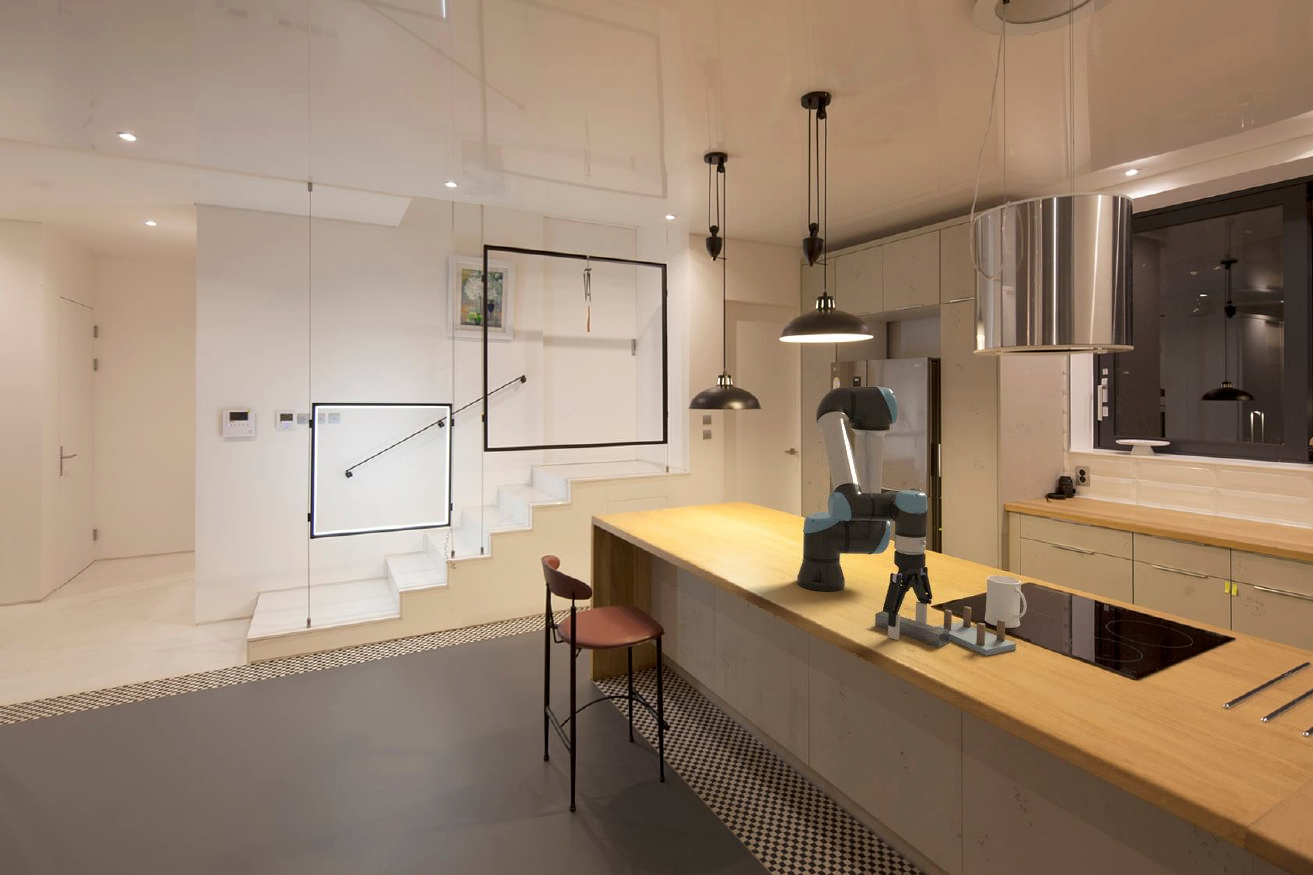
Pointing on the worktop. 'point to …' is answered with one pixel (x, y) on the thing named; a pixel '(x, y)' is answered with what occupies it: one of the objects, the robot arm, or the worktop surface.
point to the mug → (1004, 600)
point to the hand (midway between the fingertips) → (907, 632)
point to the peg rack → (977, 634)
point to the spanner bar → (916, 630)
